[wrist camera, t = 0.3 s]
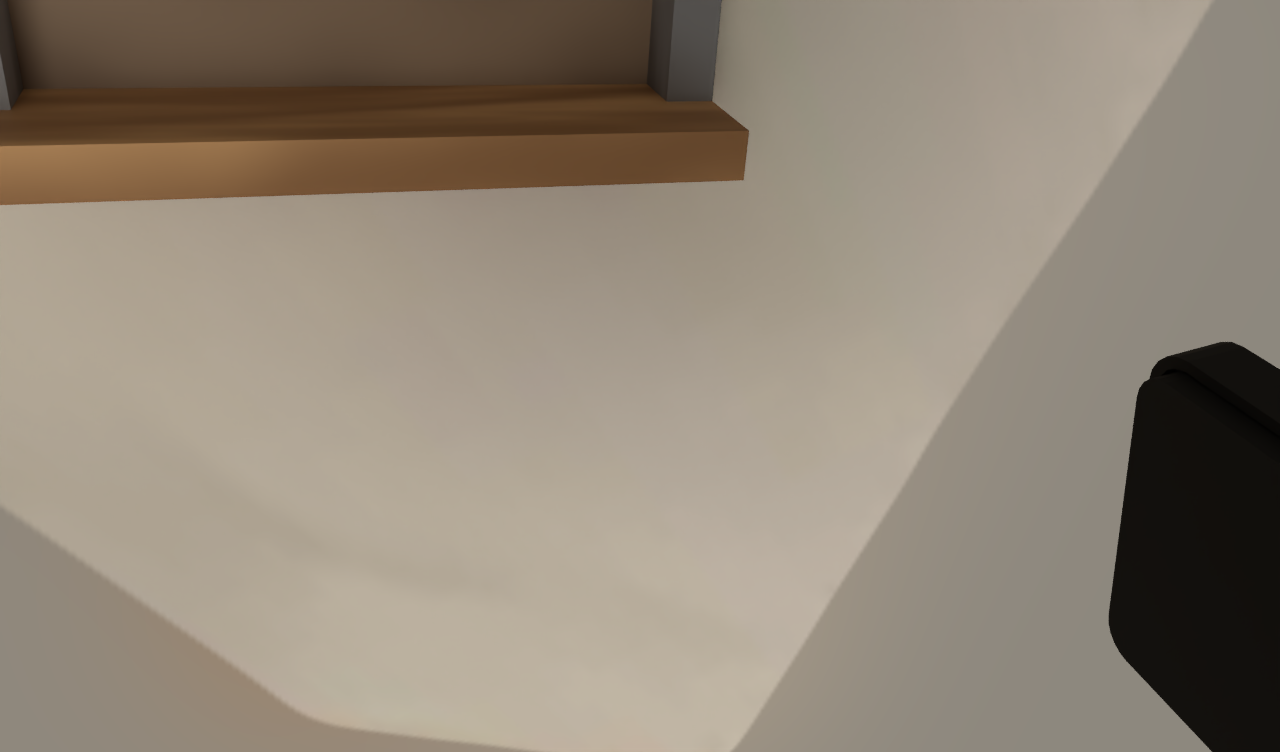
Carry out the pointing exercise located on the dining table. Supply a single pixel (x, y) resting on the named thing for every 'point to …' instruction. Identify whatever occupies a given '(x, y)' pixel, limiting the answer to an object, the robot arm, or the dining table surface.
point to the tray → (356, 97)
